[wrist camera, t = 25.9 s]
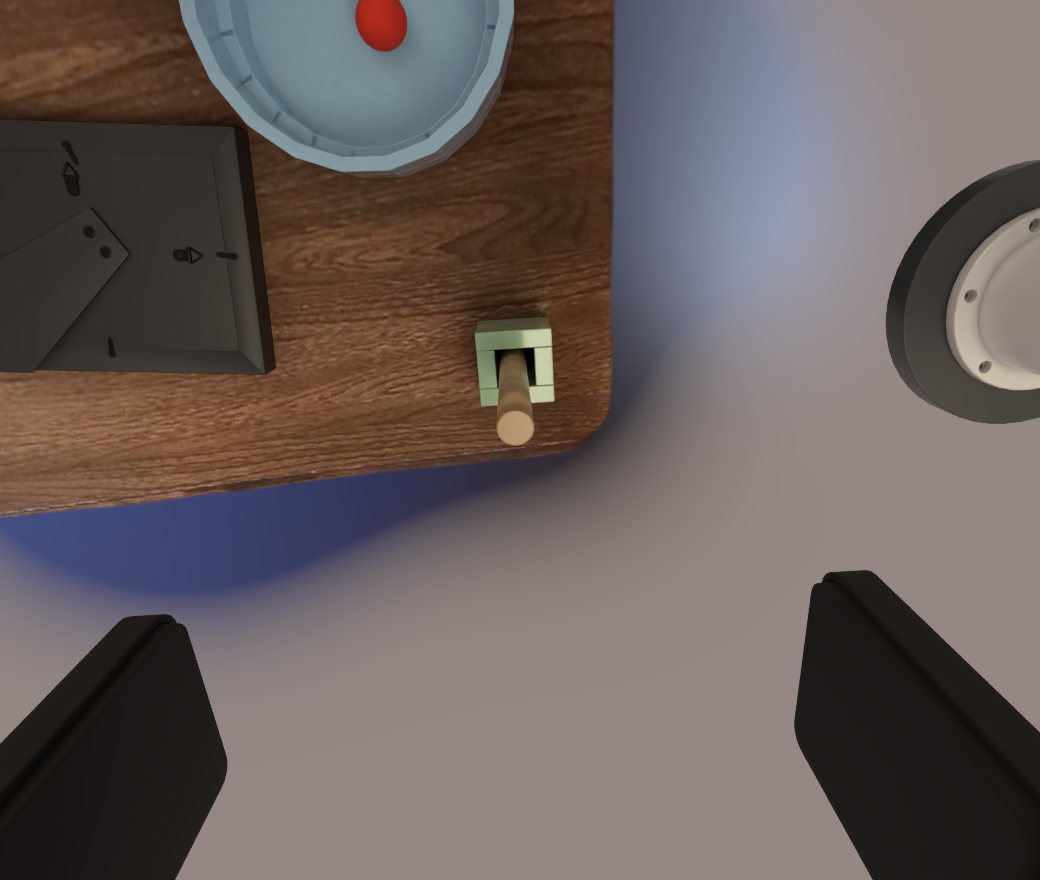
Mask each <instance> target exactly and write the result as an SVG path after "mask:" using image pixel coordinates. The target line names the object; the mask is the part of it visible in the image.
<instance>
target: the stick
mask: <svg viewBox="0 0 1040 880" xmlns="http://www.w3.org/2000/svg"><path fill="white" fill-rule="evenodd" d="M496 430H497V434H498V436H499V438H500V439H501V440H502V441H503V442H505V443H507V444H509V445H521V444H524V443H526V442H527V441H528V440H529V439H530V438H531V437H532V435H533V432H534V421H533V413H532V405H531V397H530V389H529V381H528V373H527V366H526V358H525V350H524V348H518V349H502V350H501V355H500V373H499V390H498V407H497V425H496Z"/></svg>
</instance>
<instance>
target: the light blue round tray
mask: <svg viewBox="0 0 1040 880" xmlns="http://www.w3.org/2000/svg"><path fill="white" fill-rule="evenodd" d="M399 1H400V2H401V4H402V6H403V8H404V10H405V13H406V16H407V33H406V36H405V38H404V40H403V42H402V43H401V44H400V45H399V46H398V47H397V48H396V49H394V50H392V51H387V52H383V51H378V50H375V49H373V48H371V47H370V46H369V45H367V44H366V43H365V42H364V40H363V39H362V38H361V36H360V34H359V32H358V30H357V26H356V21H355V11H356V7H357V4H358V2H359V0H179V3H180V9H181V14H182V19H183V23H184V26H185V28H186V30H187V32H188V34H189V36H190V38H191V40H192V43H193V45H194V47H195V49H196V51H197V53H198V55H199V58H200V60H201V62H202V64H203V66H204V68H205V70H206V72H207V75H208V77H209V79H210V80H211V82H212V83H213V84H214V86H215V87H216V88H217V89H218V90H219V92H220V93H221V94H222V95H223V96H224V98H225V99H226V100H227V101H228V102H229V104H230V105H231V106H232V107H233V108H234V110H235V111H236V112H237V113H238V114H239V116H240V117H241V118H242V119H243V121H244V122H245V123H246V124H247V125H248V126H249V127H251V128H252V129H253V130H255V131H256V132H258V133H259V134H261V135H262V136H264V137H265V138H266V139H268V140H269V141H271V142H272V143H274V144H275V145H277V146H278V147H279V148H281V149H282V150H284V151H285V152H287V153H288V154H290V155H291V156H293V157H295V158H298V159H301V160H305V161H308V162H311V163H314V164H317V165H321V166H324V167H327V168H330V169H333V170H336V171H340V172H343V173H346V174H350V175H353V176H357V177H360V178H387V177H404V176H405V177H406V176H408V175H411V174H414V173H416V172H419V171H421V170H424V169H426V168H429V167H431V166H434V165H436V164H439V163H441V162H443V161H445V160H446V159H447V158H449V157H450V156H451V155H452V154H453V153H454V152H455V151H457V150H458V149H459V148H460V147H461V146H462V145H463V144H465V143H466V142H467V141H468V140H469V139H470V138H471V137H473V136H474V135H475V134H476V132H478V130H479V129H480V127H481V125H482V123H483V122H484V120H485V118H486V117H487V115H488V113H489V112H490V110H491V108H492V107H493V105H494V103H495V102H496V100H497V98H498V96H499V95H500V93H501V90H502V86H503V82H504V78H505V74H506V70H507V66H508V62H509V58H510V54H511V50H512V46H513V35H514V0H399Z"/></svg>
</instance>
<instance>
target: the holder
mask: <svg viewBox="0 0 1040 880" xmlns="http://www.w3.org/2000/svg"><path fill="white" fill-rule="evenodd" d="M475 343H476V351H477V352H476V354H477V365H478V376H479V388H480V399H481V406H494V405H498V390H499V373H500V371H498V357H497V350H502V349H518V348H532V357H533V369H527V373H528V381H529V389H530V397H531V403H541V402H554V377H553V354H552V330H551V327H550V324H549V322H548V319H547V317H532V318H517V319H501V320H486V321H478V324H477V328H476V331H475Z"/></svg>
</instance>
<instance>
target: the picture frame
mask: <svg viewBox="0 0 1040 880" xmlns="http://www.w3.org/2000/svg"><path fill="white" fill-rule="evenodd" d="M275 368H276V365H275V356H274V348H273V340H272V332H271V323H270V315H269V307H268V298H267V290H266V282H265V273H264V265H263V257H262V248H261V240H260V232H259V223H258V215H257V207H256V199H255V190H254V182H253V174H252V165H251V157H250V149H249V140H248V132H247V131H245V130H242V129H239V128H236V127H229V126H197V125H165V124H133V123H102V122H70V121H38V120H6V119H0V372H24V373H32V372H35V370H64V371H112V372H161V373H210V374H258V375H266V374H267V373H269V372H270V371H272V370H273V369H275Z"/></svg>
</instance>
